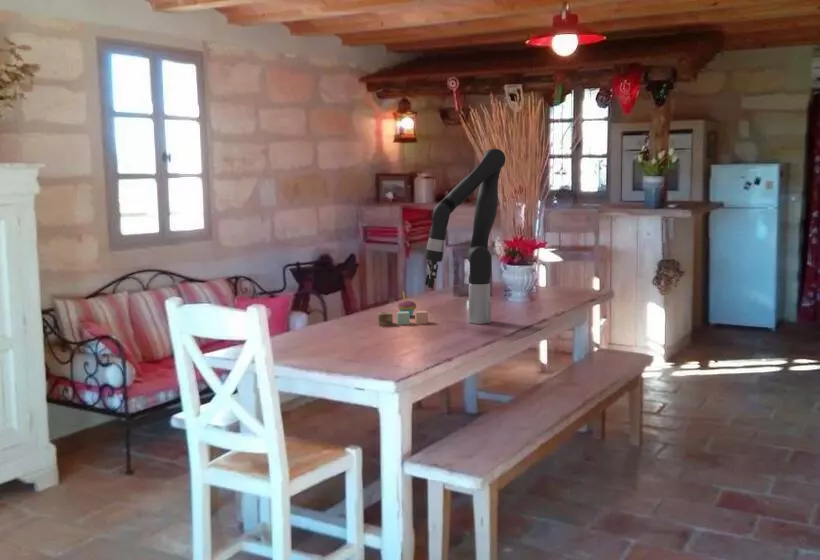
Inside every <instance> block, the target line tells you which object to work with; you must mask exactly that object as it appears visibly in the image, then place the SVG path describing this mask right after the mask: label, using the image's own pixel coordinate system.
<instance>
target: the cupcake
mask: <svg viewBox="0 0 820 560" xmlns="http://www.w3.org/2000/svg"><path fill="white" fill-rule="evenodd" d="M402 297H403V300H402V301H401V302H399V303H398V304H397V309H398V310H399V312H402V311H408V312H409V313H410V316H411V317H413V315H414V313H415V310H416V309H417V304H416V303H415V302H414V301H412V300H406V295H405V291H402Z"/></svg>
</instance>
